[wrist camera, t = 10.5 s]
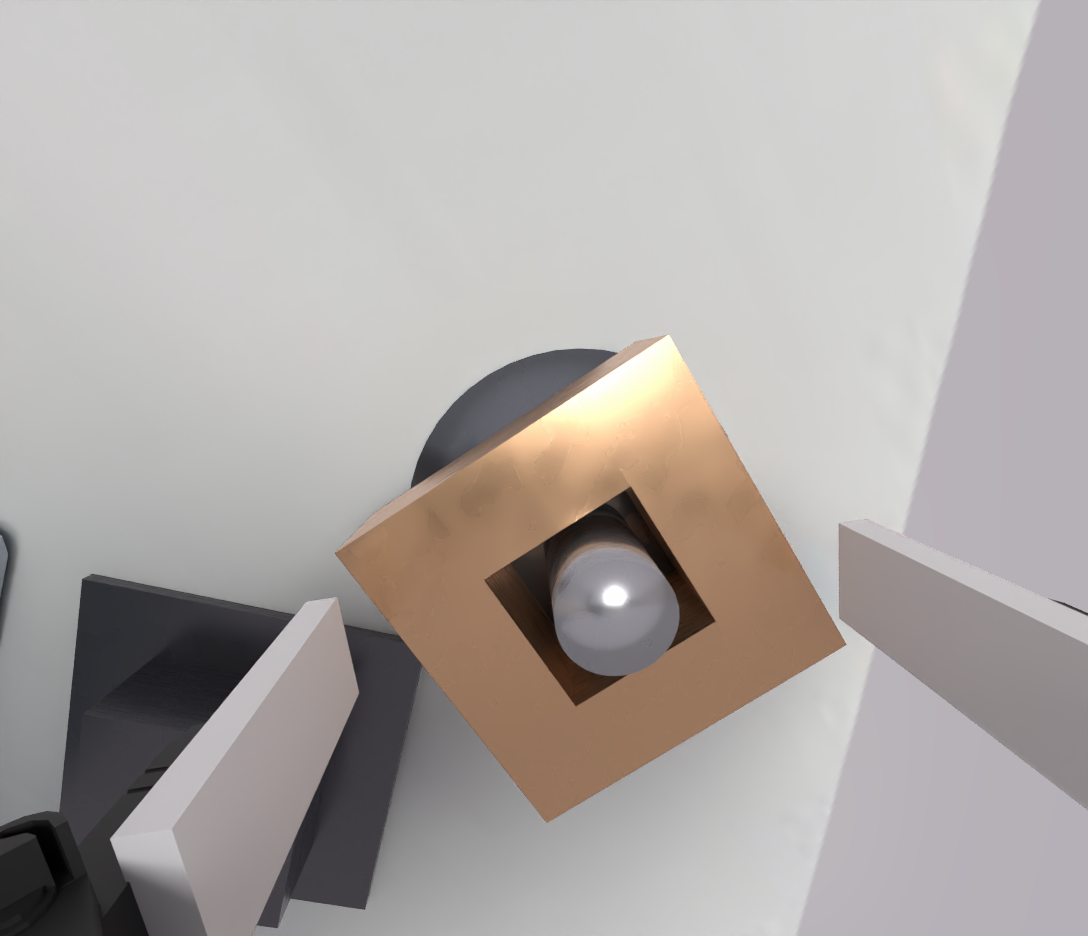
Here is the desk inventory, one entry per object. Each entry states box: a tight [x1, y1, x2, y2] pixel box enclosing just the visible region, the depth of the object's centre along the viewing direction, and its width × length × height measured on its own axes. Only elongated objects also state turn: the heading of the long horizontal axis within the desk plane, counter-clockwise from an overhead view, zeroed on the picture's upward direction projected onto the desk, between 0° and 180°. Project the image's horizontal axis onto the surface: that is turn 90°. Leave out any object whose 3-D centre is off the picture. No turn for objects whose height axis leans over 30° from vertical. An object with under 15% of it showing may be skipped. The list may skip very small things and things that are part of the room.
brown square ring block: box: [335, 335, 846, 822], centre depth 17 cm, size 11×11×4 cm
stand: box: [60, 574, 422, 928], centre depth 19 cm, size 14×14×8 cm
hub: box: [411, 349, 727, 676], centre depth 18 cm, size 14×14×9 cm
